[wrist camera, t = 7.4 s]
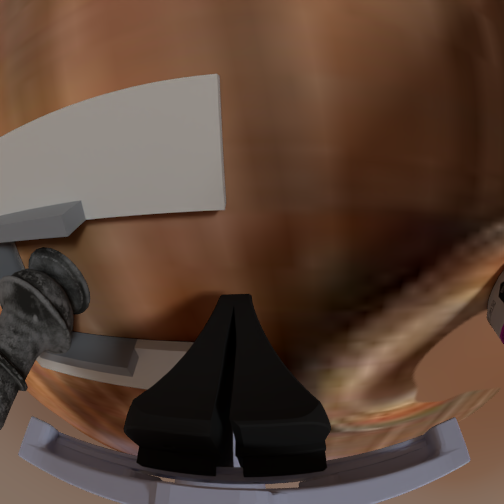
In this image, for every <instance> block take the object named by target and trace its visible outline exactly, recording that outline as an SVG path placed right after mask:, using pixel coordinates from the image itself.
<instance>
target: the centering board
mask: <svg viewBox="0 0 504 504" xmlns="http://www.w3.org/2000/svg"><path fill="white" fill-rule="evenodd" d="M225 206H226V194H225V178H224V161H223V143H222V123H221V101H220V76H219V75H218V74H211V75H201V76H193V77H185V78H178V79H171V80H165V81H160V82H154V83H149V84H144V85H140V86H135V87H131V88H127V89H122V90H119V91H115V92H111V93H107V94H104V95H101V96H97V97H94V98H91V99H88V100H85V101H82V102H79V103H76V104H73V105H70V106H67V107H65V108H62V109H60V110H57V111H54V112H52V113H50V114H47V115H45V116H42V117H40V118H38V119H36V120H33V121H31V122H29V123H27V124H25V125H23V126H21V127H19V128H17V129H15V130H13V131H11V132H9V133H7V134H5V135H4V136H2V137H0V280H1V278H2V277H4V276H8V275H10V276H11V275H12V274H13V273H15V272H18V271H21V270H24V269H25V268H24V265H23V263H22V261H21V258H20V256H19V253H18V251H17V248H16V245H15V243H14V241H23V240H33V239H44V238H56V237H68V236H69V235H70V234H71V233H72V232H73V231H74V230H75V229H76V228H78V227H79V226H80V225H81V224H82V223H83V222H84V221H85V220H89V219H99V218H109V217H120V216H132V215H145V214H159V213H174V212H191V211H211V210H225ZM70 337H71V341H72V342H71V347H70V349H69V350H68V351H67V352H66V353H63V354H52V353H49V352H46V351H44V352H43V353H42V354H40V355H39V357H38V358H37V359H36V360H37V361H38V363H39V364H40V365H41V367H44V368H47V369H51V370H54V371H58V372H61V373H65V374H69V375H73V376H77V377H81V378H85V379H90V380H94V381H99V382H104V383H109V384H115V385H121V386H127V387H133V388H140V389H149V388H150V387H152V386H153V385H154V384H155V383H156V382H158V381H159V380H160V379H161V378H162V377H163V376H164V375H166V374H167V373H168V372H169V371H170V370H171V369H172V368H173V367H174V366H175V365H176V364H177V362H178V361H179V360H180V359H181V358H182V357H183V356H184V355H185V353H186V352H187V351H188V350H189V348H190V347H191V346H192V345H193V343H194V342H176V341H157V340H143V339H131V338H120V337H110V336H102V335H94V334H86V333H79V332H72V334H71V336H70Z"/></svg>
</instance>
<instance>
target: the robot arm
mask: <svg viewBox="0 0 504 504" xmlns="http://www.w3.org/2000/svg"><path fill="white" fill-rule="evenodd" d="M330 430H331V426H330V422H329V419H328V416H327V414H326V412H325V410H324V408H323V406H322V404H321V402H320V401H319V400H317V399H316V398H315V397H314V396H313V395H312V394H311V393H310V392H309V391H308V390H306V389H305V388H304V386H303V385H302V384H301V383H300V382H299V381H298V380H297V379H296V378H295V377H294V376H293V374H292V373H291V372H290V371H289V370H288V368H287V367H286V366H285V365H284V363H283V362H282V361H281V359H280V358H279V357H278V355H277V354H276V352H275V351H274V349H273V347H272V346H271V344H270V342H269V341H268V339H267V337H266V335H265V333H264V331H263V329H262V327H261V325H260V323H259V320H258V318H257V315H256V313H255V310H254V306H253V303H252V296H251V295H250V294H230V295H221V296H220V298H219V300H218V303H217V305H216V307H215V309H214V311H213V313H212V315H211V317H210V318H209V320H208V322H207V323H206V325H205V327H204V328H203V330H202V332H201V333H200V334H199V336H198V337H197V339H196V340H195V342H194V343H193V345H192V346H191V347H190V348H189V350H188V351H187V352H186V353H185V355H184V356H183V357H182V358H181V359H180V360H179V361H178V362H177V364H176V365H175V366H174V367H173V368H172V369H171V370H170V371H169V372H168V373H167V374H166V375H164V376H163V377H162V378H161V379H160V380H159V381H158V382H156V383H155V384H154V385H153V386H152V387H150V388H149V389H148V390H146V391H145V392H144V393H142V394H141V395H139V396H138V397H137V398H135V399H134V400H133V402H132V404H131V406H130V408H129V411H128V414H127V418H126V421H125V425H124V432H125V434H126V435H127V436H128V437H129V438H130V439H131V440H132V441H134V442H135V443H136V444H137V445H138V446H139V451H138V456H135V455H130V454H126V453H122V452H118V451H114V450H111V449H107V448H104V447H100V446H97V445H93V444H91V443H88V442H84V441H81V440H79V439H76V438H73V437H70V436H68V435H65V434H63V433H60V432H58V430H57V429H55V428H54V427H53V426H51V425H50V424H48V423H46V422H44V421H42V420H40V419H38V418H35V417H31V419H30V422H29V424H28V427H27V430H26V433H25V436H24V438H23V441H22V444H21V447H20V451H19V454H18V455H19V456H20V457H21V458H23V459H24V460H26V461H28V462H30V463H31V464H33V465H34V466H36V467H38V468H40V469H41V470H43V471H45V472H47V473H49V474H51V475H53V476H55V477H57V478H59V479H61V480H63V481H65V482H67V483H69V484H72V485H74V486H76V487H78V488H81V489H83V490H85V491H88V492H91V493H93V494H96V495H98V496H101V497H104V498H107V499H109V500H112V501H116V502H119V503H122V504H375V503H378V502H382V501H385V500H388V499H390V498H393V497H396V496H399V495H402V494H404V493H407V492H409V491H412V490H414V489H417V488H419V487H421V486H423V485H426V484H428V483H430V482H432V481H434V480H437V479H439V478H441V477H443V476H445V475H446V474H448V473H450V472H452V471H454V470H456V469H458V468H459V467H461V466H463V465H465V464H466V463H468V462H470V456H469V453H468V450H467V447H466V444H465V441H464V439H463V436H462V433H461V430H460V428H459V425H458V422H457V420H456V418H455V417H453V418H451V419H449V420H447V421H444V422H442V423H440V424H437V425H435V426H434V427H432V428H430V429H429V430H428V431H427V432H426V433H425V434H424V435H421V436H418V437H416V438H413V439H410V440H407V441H404V442H401V443H398V444H395V445H392V446H388V447H385V448H382V449H378V450H374V451H370V452H366V453H362V454H358V455H354V456H349V457H344V458H339V459H333V460H328V461H326V456H325V450H326V444H325V439H326V438H327V436H328V434H329V433H330ZM151 475H153V476H151ZM155 476H159V477H165V478H171V479H175V483H173V482H165V481H162V480H161V479H160V478H159V477H155ZM298 481H302V482H300V483H299V487H298V488H282V489H281V488H278V489H266V487H265V484H275V483H288V482H298Z"/></svg>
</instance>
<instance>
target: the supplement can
mask: <svg viewBox="0 0 504 504" xmlns="http://www.w3.org/2000/svg"><path fill="white" fill-rule="evenodd" d="M487 309H488V312H487V320H488V322H489V323H490V325H491V326H492V328H493V329H494V331H495V332H496V334H497V335H498V336H499V338H500V339H501V341H502V343H503V344H504V270H503V272H502V273H501V275H500V276H499V278H498V280H497V282H496V283H495V285H494V287H493V289H492V292H491V294H490V297H489V300H488V308H487Z"/></svg>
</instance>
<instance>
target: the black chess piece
mask: <svg viewBox="0 0 504 504" xmlns="http://www.w3.org/2000/svg"><path fill="white" fill-rule="evenodd" d="M89 302H90V292H89V289H88V285H87V283H86V281H85V279H84V277H83V275H82V273H81V272H80V271H79V269H78V268H77V267H76V265H75V264H74V263H73V262H72V261H70V260H69V259H68V258H67V257H66V256H65V255H63V254H62V253H60V252H59V251H56V250H54V249H51V248H45V247H42V248H39V249H36V250H35V251H34V252H33V253H32V254H31V256H30V259H29V269H24V270H21V271H18V272H15V273H13V274H12V275H11V276H10V275H8V276H4V277H2V278H1V280H0V305H1V307H2V309H3V310H2V313H1V315H0V430H1V428H2V427H3V426H4V423H5V420H6V418H7V415H8V413H9V410H10V408H11V406H12V404H13V401H14V399H15V397H16V395H17V393H18V390H21V391H26V390H27V388H28V387H27V384H26V382H25V379H26V377H27V375H28V373H29V371H30V369H31V367H32V366H33V364H34V362H35V360H36V359H37V358H38V357H39V355H40V354H42V353H43V352H44V351H46V352H49V353H52V354H63V353H66V352H67V351H68V350H69V349H70V347H71V342H72V341H71V337H70V336H71V334H72V330H73V320H74V316H73V315H74V314H80V313H83V312H84V311H85V310H86V309H87V308H88V305H89Z"/></svg>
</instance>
